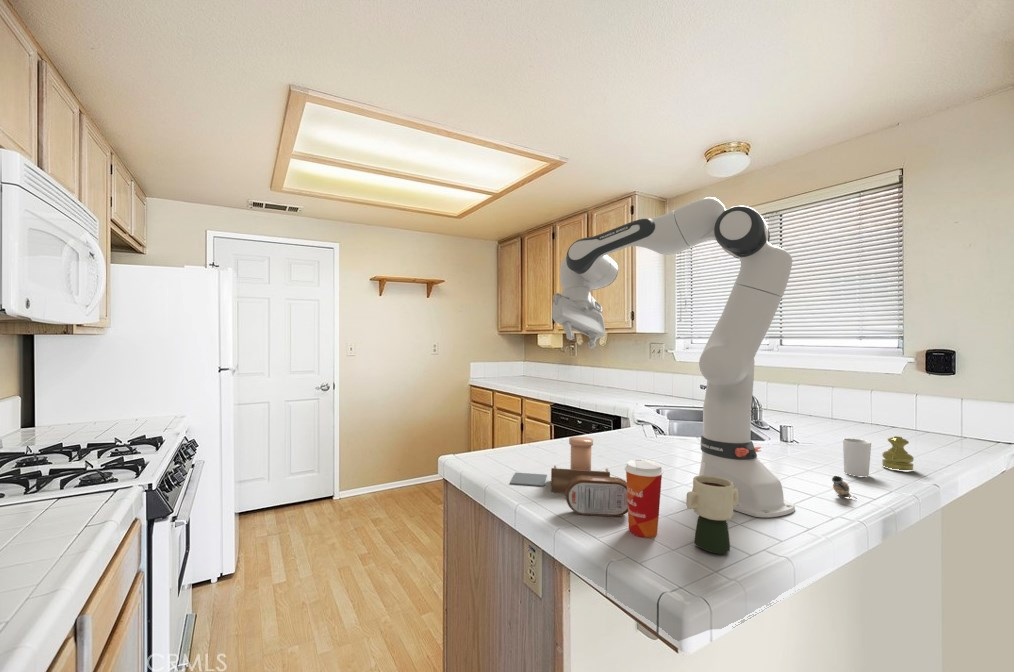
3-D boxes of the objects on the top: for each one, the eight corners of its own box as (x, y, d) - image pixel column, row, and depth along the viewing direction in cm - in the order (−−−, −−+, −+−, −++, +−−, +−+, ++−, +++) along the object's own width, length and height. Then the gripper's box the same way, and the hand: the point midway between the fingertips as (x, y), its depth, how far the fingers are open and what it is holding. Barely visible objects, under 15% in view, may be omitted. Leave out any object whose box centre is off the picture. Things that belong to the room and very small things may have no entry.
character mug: (724, 538, 91) (725, 473, 91) (750, 555, 84) (751, 485, 84) (675, 542, 89) (676, 476, 89) (697, 560, 82) (699, 489, 82)
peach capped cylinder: (597, 485, 121) (598, 440, 121) (577, 489, 118) (577, 443, 118) (583, 478, 127) (584, 435, 127) (564, 481, 124) (564, 437, 124)
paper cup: (618, 524, 97) (619, 458, 97) (653, 523, 98) (654, 458, 97) (631, 541, 89) (632, 470, 89) (669, 540, 90) (670, 469, 90)
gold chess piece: (910, 468, 141) (911, 436, 141) (916, 474, 134) (916, 440, 134) (880, 464, 145) (880, 433, 144) (884, 470, 138) (884, 437, 138)
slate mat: (515, 473, 130) (515, 472, 130) (546, 476, 129) (546, 474, 129) (510, 484, 121) (510, 482, 121) (543, 486, 120) (543, 485, 120)
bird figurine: (842, 503, 110) (843, 480, 110) (822, 496, 115) (822, 473, 115) (858, 501, 112) (859, 478, 112) (838, 494, 117) (838, 472, 117)
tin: (631, 513, 103) (632, 476, 103) (634, 519, 100) (634, 481, 100) (564, 510, 104) (565, 473, 104) (565, 515, 101) (565, 478, 101)
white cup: (874, 479, 129) (875, 444, 129) (847, 476, 132) (847, 442, 131) (864, 472, 136) (865, 439, 136) (838, 469, 138) (839, 437, 138)
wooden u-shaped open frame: (553, 479, 125) (554, 458, 125) (607, 483, 123) (608, 461, 123) (551, 492, 116) (551, 468, 116) (609, 496, 113) (610, 472, 113)
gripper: (561, 286, 130) (565, 329, 124) (606, 308, 142) (611, 348, 136) (545, 295, 134) (548, 337, 128) (590, 316, 147) (595, 355, 140)
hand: (581, 343), depth 132 cm, fingers open, 8 cm apart
